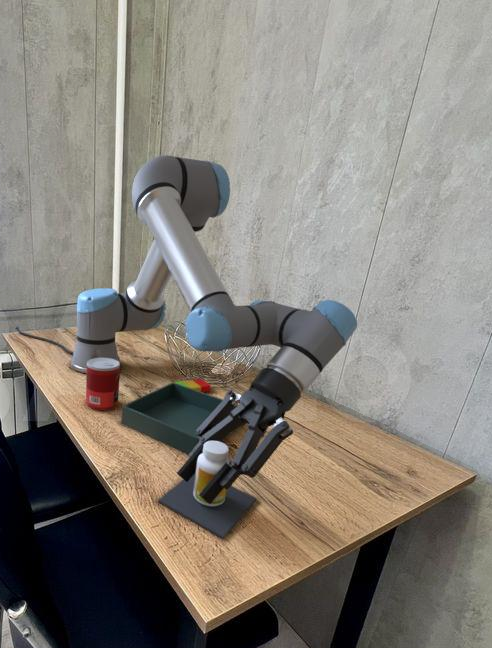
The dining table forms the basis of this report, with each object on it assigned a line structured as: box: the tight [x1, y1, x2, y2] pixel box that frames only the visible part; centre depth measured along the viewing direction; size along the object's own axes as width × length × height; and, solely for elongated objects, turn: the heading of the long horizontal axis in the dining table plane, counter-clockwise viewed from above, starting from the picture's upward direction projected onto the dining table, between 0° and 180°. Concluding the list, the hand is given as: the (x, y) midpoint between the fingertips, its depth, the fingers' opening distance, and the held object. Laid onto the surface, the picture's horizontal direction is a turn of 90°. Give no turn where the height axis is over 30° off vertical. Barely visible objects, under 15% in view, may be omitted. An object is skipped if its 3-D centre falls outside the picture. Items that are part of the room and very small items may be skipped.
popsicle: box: [174, 378, 212, 393], centre depth 110 cm, size 6×15×2 cm, turn 114°
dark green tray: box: [120, 381, 240, 455], centre depth 92 cm, size 20×20×4 cm
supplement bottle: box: [193, 441, 231, 506], centre depth 65 cm, size 5×5×10 cm
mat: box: [158, 474, 257, 540], centre depth 67 cm, size 12×12×1 cm
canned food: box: [85, 358, 121, 411], centre depth 98 cm, size 8×8×11 cm
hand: (192, 488), depth 64 cm, fingers closed on supplement bottle, 5 cm apart
